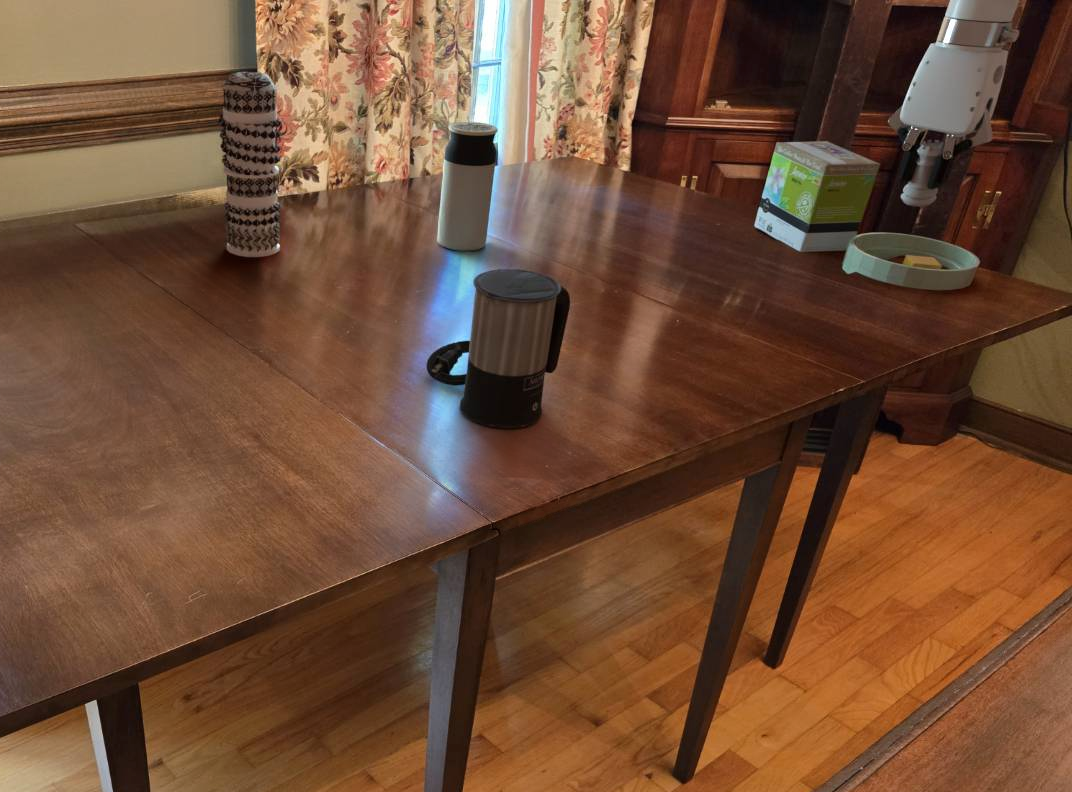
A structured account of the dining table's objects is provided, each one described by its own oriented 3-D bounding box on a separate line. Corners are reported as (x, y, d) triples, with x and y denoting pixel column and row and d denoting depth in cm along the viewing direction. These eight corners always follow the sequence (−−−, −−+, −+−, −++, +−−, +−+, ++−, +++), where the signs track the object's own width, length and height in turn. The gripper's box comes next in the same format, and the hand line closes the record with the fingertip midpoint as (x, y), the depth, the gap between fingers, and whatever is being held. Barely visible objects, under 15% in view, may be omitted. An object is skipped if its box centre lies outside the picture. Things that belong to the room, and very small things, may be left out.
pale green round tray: (988, 285, 149) (1000, 256, 147) (934, 309, 140) (946, 279, 137) (875, 253, 161) (885, 226, 158) (818, 272, 151) (827, 244, 149)
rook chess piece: (898, 193, 137) (912, 137, 131) (934, 192, 135) (949, 136, 130) (901, 207, 134) (915, 151, 128) (937, 207, 132) (953, 150, 127)
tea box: (750, 228, 170) (774, 139, 162) (801, 226, 172) (827, 139, 164) (798, 255, 158) (827, 162, 150) (852, 254, 160) (884, 161, 152)
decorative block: (931, 292, 144) (942, 265, 142) (903, 289, 145) (913, 263, 142) (924, 283, 147) (934, 257, 145) (896, 280, 148) (906, 254, 146)
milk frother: (525, 438, 103) (546, 305, 94) (392, 404, 108) (401, 275, 100) (563, 388, 113) (585, 265, 105) (440, 359, 119) (451, 240, 110)
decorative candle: (260, 262, 146) (256, 82, 132) (212, 250, 150) (203, 74, 136) (294, 246, 152) (294, 74, 138) (247, 235, 156) (242, 66, 142)
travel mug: (488, 252, 154) (502, 133, 143) (438, 250, 153) (449, 131, 143) (482, 237, 160) (496, 122, 150) (435, 235, 160) (445, 120, 150)
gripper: (1054, 42, 119) (993, 194, 129) (922, 26, 129) (876, 168, 140) (1027, 45, 115) (967, 202, 125) (894, 29, 126) (848, 174, 136)
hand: (919, 182), depth 132 cm, fingers closed on rook chess piece, 3 cm apart
